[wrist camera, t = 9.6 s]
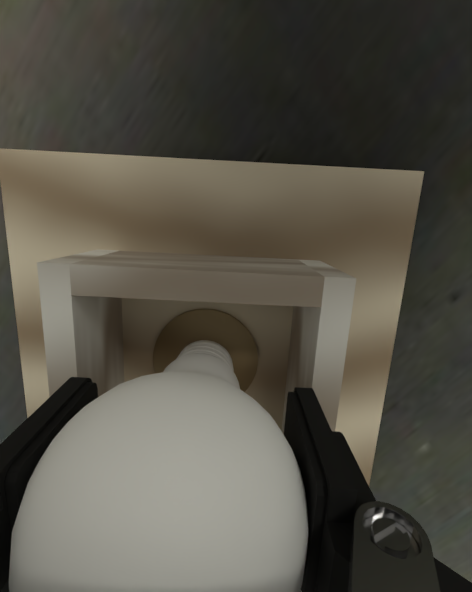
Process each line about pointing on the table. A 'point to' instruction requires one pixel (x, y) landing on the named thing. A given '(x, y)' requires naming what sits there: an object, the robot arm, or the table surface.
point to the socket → (211, 274)
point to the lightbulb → (165, 491)
